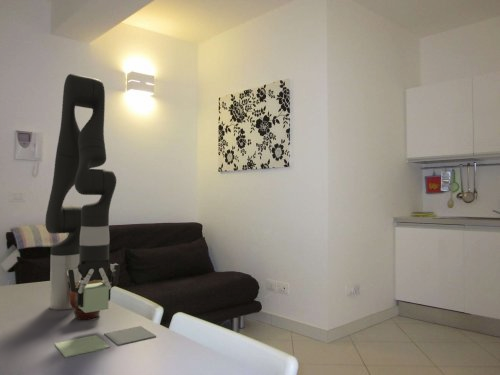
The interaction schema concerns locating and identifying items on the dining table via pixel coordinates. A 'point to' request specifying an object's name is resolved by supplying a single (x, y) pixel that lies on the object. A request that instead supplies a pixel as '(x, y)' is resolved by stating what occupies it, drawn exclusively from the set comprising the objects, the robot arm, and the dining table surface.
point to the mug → (77, 311)
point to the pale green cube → (95, 297)
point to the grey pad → (129, 335)
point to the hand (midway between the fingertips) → (93, 304)
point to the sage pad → (81, 346)
